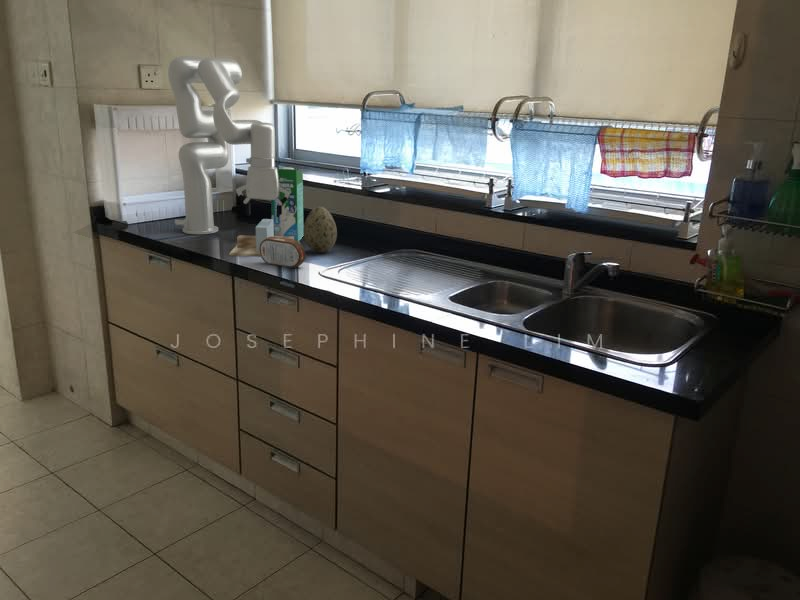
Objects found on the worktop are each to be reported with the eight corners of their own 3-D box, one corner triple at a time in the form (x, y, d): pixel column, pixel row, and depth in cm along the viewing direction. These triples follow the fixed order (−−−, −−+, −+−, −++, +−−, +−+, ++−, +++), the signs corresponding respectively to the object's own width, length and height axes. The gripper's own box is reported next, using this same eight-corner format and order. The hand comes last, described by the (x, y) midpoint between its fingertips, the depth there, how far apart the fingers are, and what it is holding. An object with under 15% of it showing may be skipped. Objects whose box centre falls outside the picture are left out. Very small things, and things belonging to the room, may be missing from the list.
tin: (306, 267, 204) (305, 240, 202) (300, 270, 202) (299, 242, 199) (264, 261, 210) (263, 234, 208) (258, 263, 208) (257, 236, 205)
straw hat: (229, 255, 216) (229, 242, 215) (240, 242, 233) (240, 230, 232) (293, 256, 216) (292, 243, 215) (299, 244, 234) (299, 232, 232)
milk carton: (303, 236, 245) (302, 166, 238) (297, 242, 236) (296, 169, 229) (279, 235, 246) (277, 165, 238) (272, 240, 237) (270, 168, 230)
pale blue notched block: (267, 252, 218) (266, 227, 216) (256, 252, 218) (255, 227, 215) (274, 242, 231) (273, 219, 229) (263, 242, 231) (262, 218, 229)
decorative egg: (307, 247, 229) (307, 203, 224) (339, 249, 228) (339, 204, 224) (300, 255, 219) (299, 208, 214) (333, 256, 218) (333, 210, 213)
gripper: (233, 163, 213) (234, 217, 218) (288, 165, 213) (288, 219, 219) (237, 159, 220) (239, 212, 225) (291, 162, 220) (291, 214, 226)
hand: (263, 216), depth 222 cm, fingers open, 9 cm apart
